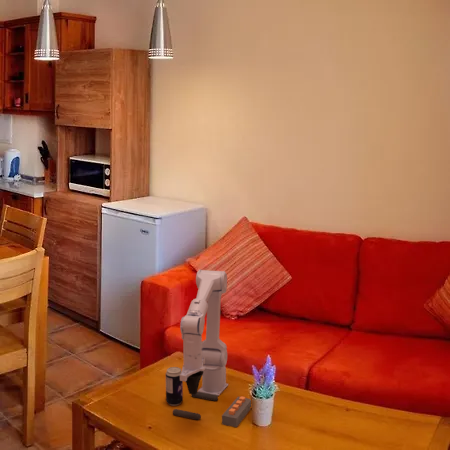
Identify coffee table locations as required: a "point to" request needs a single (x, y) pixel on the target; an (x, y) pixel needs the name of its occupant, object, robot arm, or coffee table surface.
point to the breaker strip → (236, 411)
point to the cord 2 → (205, 396)
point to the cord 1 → (186, 414)
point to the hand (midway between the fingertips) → (193, 393)
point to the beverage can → (174, 386)
